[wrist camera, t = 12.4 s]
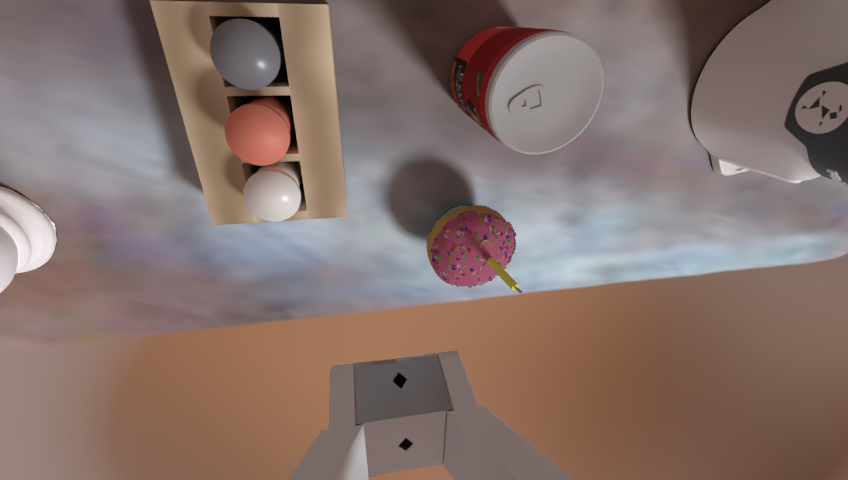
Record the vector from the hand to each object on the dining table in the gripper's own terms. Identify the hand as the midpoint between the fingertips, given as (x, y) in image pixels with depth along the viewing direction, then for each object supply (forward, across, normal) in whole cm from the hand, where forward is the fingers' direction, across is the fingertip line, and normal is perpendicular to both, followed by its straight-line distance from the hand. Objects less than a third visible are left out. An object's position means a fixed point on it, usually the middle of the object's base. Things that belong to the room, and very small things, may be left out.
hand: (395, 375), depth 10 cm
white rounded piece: (+29, +7, +5) cm, 30 cm away
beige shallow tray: (+29, +7, 0) cm, 30 cm away
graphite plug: (+29, +7, -5) cm, 30 cm away
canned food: (+29, -12, -3) cm, 32 cm away
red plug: (+28, +7, 0) cm, 29 cm away
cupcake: (+29, -10, +12) cm, 33 cm away
